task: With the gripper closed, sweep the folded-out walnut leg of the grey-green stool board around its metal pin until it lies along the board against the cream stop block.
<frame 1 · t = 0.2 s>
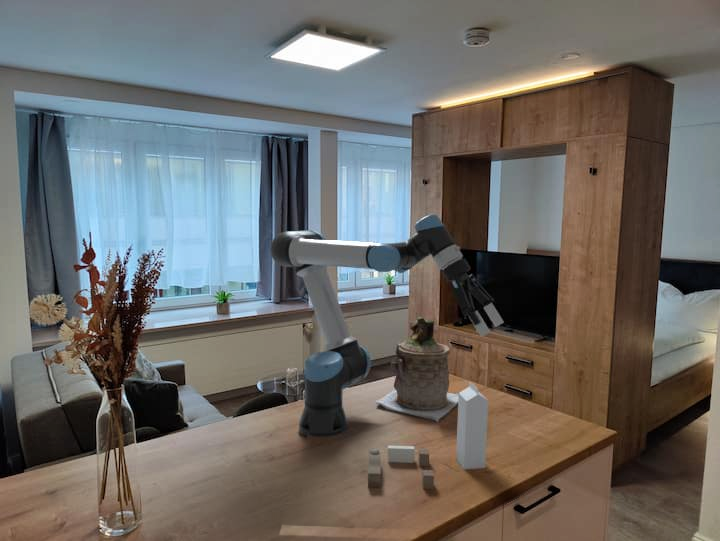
hand: (493, 329, 133), 36 cm above the kitchen counter, tool tilted 35°, fingers open, 13 cm apart
cookie jar: (420, 404, 172), on the kitchen counter
milk: (470, 463, 131), on the kitchen counter
hinged leg: (374, 467, 122), point 3 cm above the kitchen counter, hinge at -90.0°
stool seat: (397, 478, 123), on the kitchen counter
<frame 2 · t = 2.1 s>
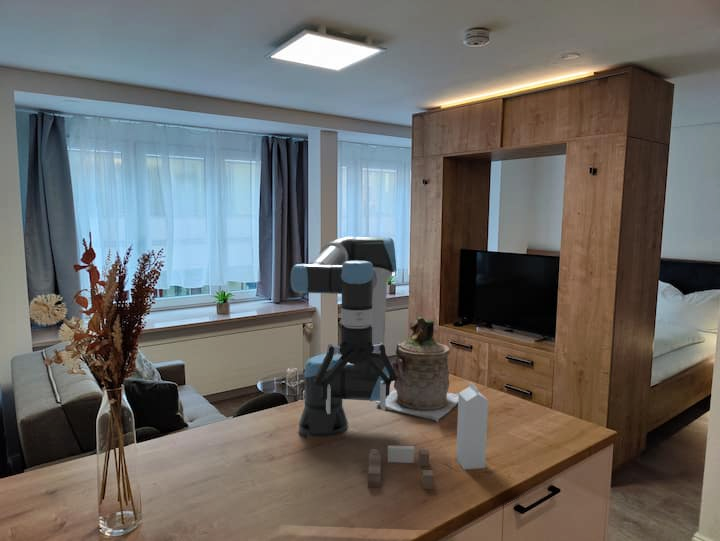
hand: (355, 410, 119), 19 cm above the kitchen counter, tool pointing down, fingers open, 13 cm apart
nothing on the kitchen counter moved.
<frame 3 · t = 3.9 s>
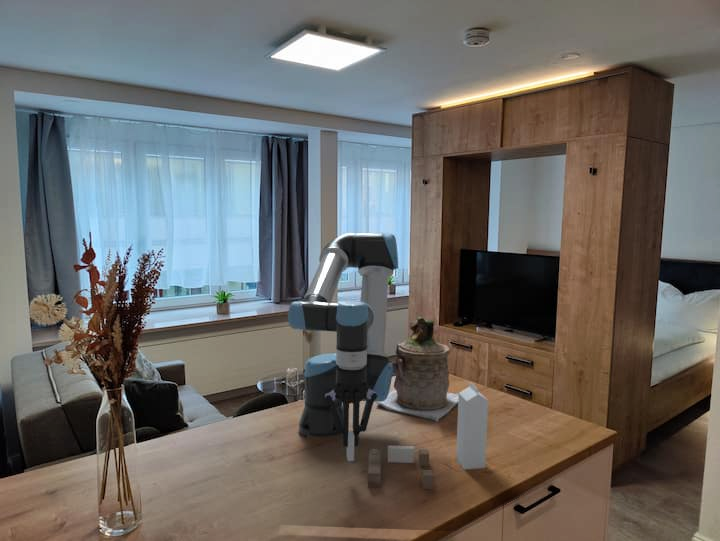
hand: (350, 458, 120), 7 cm above the kitchen counter, tool pointing down, fingers closed
nothing on the kitchen counter moved.
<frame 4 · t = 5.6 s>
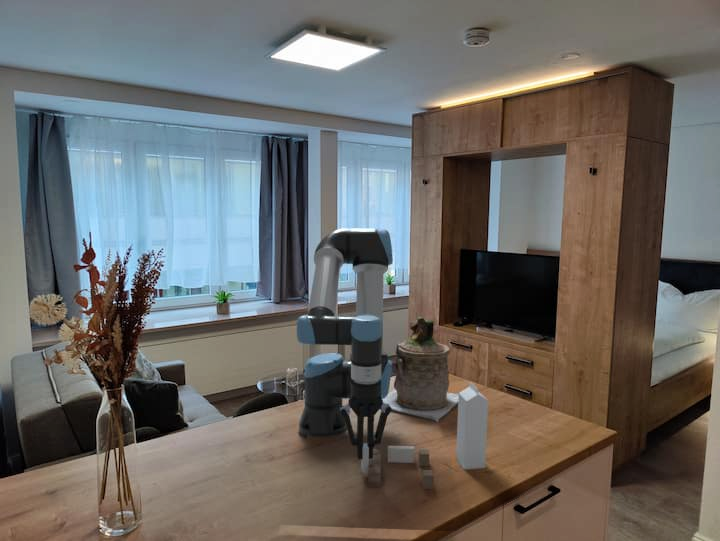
hand: (364, 470, 121), 3 cm above the kitchen counter, tool pointing down, fingers closed
hinged leg: (374, 467, 122), point 3 cm above the kitchen counter, hinge at -90.0°, touching gripper
everything else where it was.
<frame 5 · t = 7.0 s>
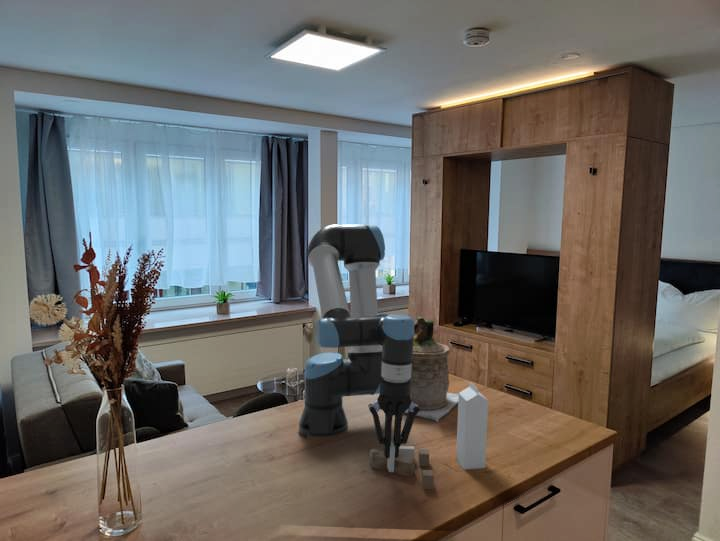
hand: (390, 469, 122), 3 cm above the kitchen counter, tool pointing down, fingers closed
hinged leg: (391, 462, 125), point 3 cm above the kitchen counter, hinge at -22.6°, touching gripper
everything else where it was.
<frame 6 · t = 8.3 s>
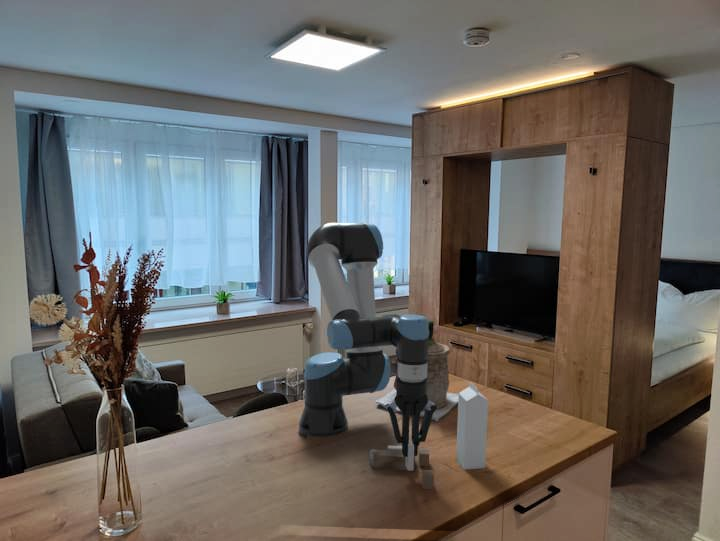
hand: (409, 467, 123), 3 cm above the kitchen counter, tool pointing down, fingers closed
hinged leg: (392, 459, 126), point 3 cm above the kitchen counter, hinge at -4.2°, touching gripper
everything else where it was.
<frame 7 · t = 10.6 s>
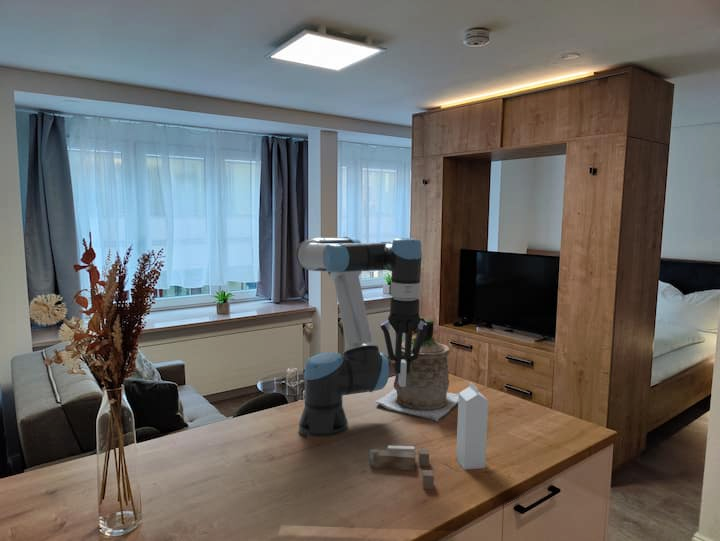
hand: (401, 384, 129), 22 cm above the kitchen counter, tool pointing down, fingers closed
hinged leg: (392, 459, 126), point 3 cm above the kitchen counter, hinge at -4.1°
everything else where it was.
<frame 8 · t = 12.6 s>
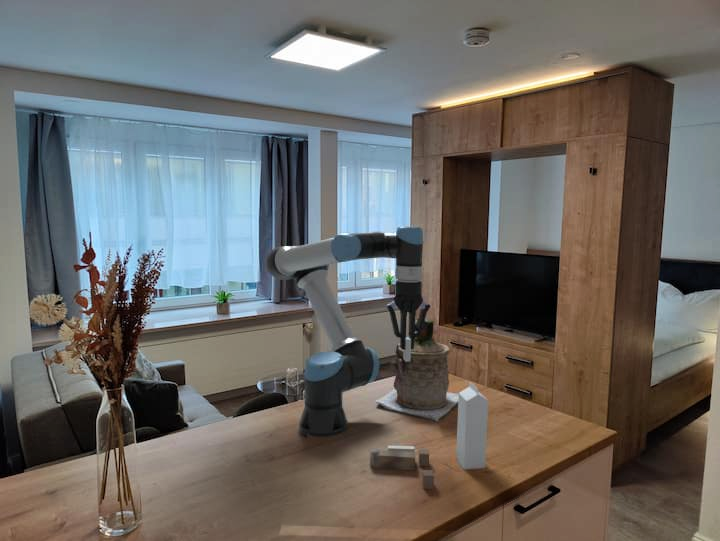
hand: (406, 359, 142), 24 cm above the kitchen counter, tool pointing down, fingers closed
nothing on the kitchen counter moved.
at the end: hinged leg at -4° (first picture: -90°); the gripper is holding nothing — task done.
